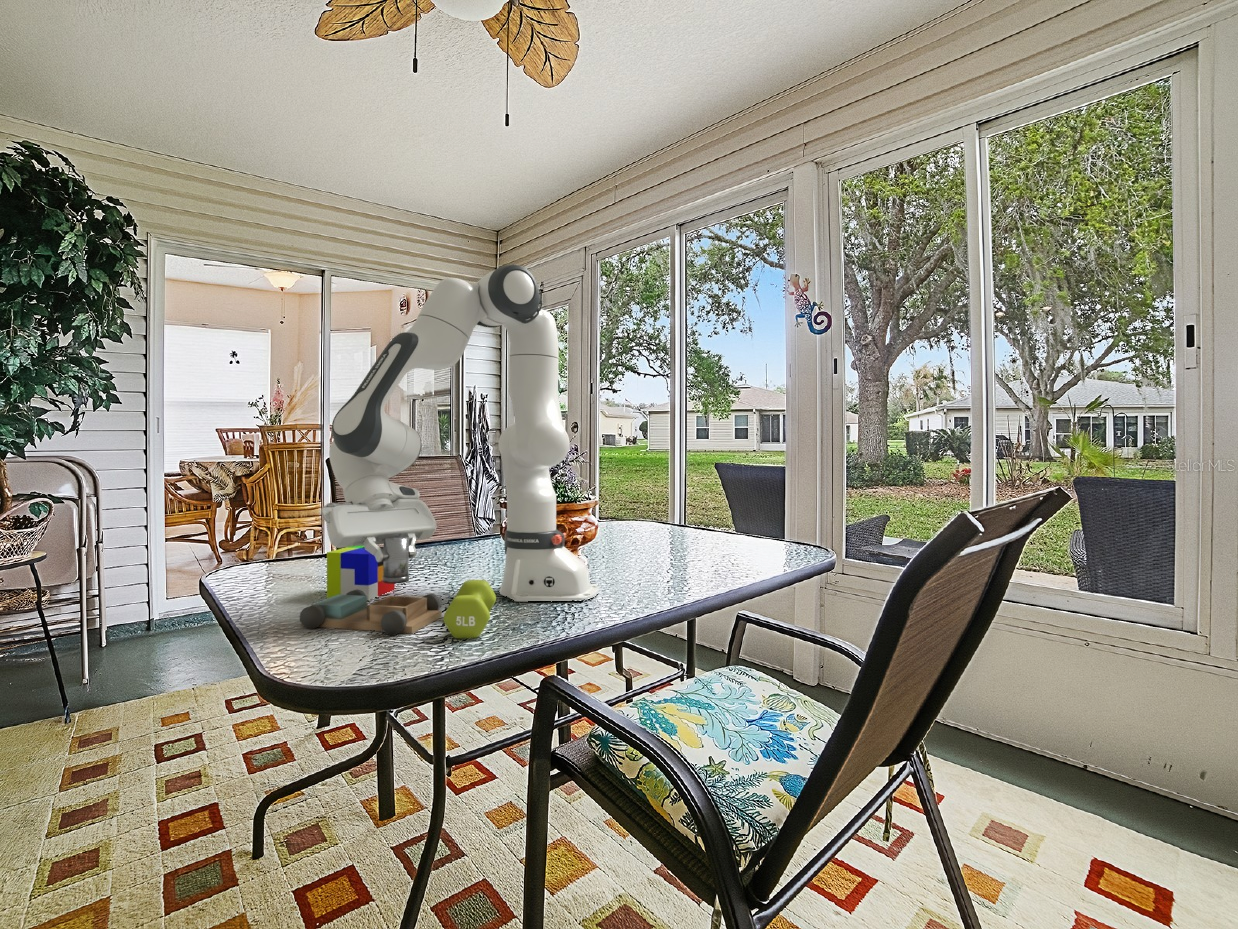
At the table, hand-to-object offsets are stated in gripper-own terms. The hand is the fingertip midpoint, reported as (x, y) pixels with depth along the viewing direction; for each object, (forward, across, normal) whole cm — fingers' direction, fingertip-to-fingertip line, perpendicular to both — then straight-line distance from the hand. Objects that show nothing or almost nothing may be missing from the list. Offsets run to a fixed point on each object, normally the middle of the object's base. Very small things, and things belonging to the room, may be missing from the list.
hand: (398, 558), depth 114 cm
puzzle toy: (-10, +7, +28) cm, 31 cm away
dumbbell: (+17, +8, +1) cm, 19 cm away
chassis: (+5, -2, +12) cm, 13 cm away
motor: (+3, 0, +4) cm, 4 cm away
